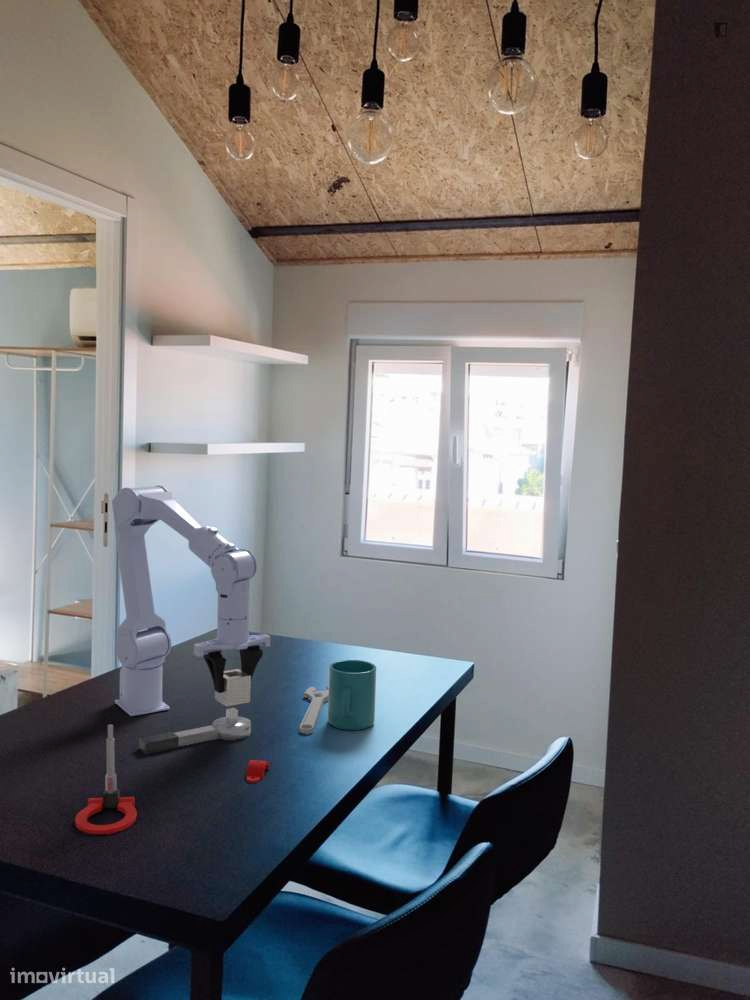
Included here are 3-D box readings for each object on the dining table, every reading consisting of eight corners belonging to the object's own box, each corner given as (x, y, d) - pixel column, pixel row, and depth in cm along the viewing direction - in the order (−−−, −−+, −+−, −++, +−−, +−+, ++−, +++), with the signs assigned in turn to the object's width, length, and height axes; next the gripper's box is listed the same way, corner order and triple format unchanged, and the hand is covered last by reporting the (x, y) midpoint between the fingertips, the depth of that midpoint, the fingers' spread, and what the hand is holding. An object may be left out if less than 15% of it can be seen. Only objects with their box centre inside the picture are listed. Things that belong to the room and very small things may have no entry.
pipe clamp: (256, 763, 144) (256, 751, 144) (272, 765, 144) (272, 752, 144) (242, 783, 136) (242, 770, 136) (259, 785, 136) (260, 772, 136)
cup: (320, 735, 157) (321, 676, 156) (332, 713, 169) (334, 658, 168) (368, 739, 156) (370, 679, 155) (377, 716, 168) (379, 661, 167)
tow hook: (132, 837, 119) (141, 803, 128) (131, 749, 117) (140, 722, 126) (69, 839, 118) (83, 805, 127) (67, 751, 116) (81, 723, 125)
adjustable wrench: (312, 737, 157) (312, 728, 157) (278, 735, 158) (279, 725, 158) (338, 694, 182) (338, 686, 182) (309, 691, 183) (309, 683, 183)
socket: (214, 698, 157) (215, 672, 156) (237, 694, 160) (238, 668, 159) (226, 706, 153) (227, 679, 152) (250, 702, 156) (250, 675, 155)
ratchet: (135, 745, 150) (135, 720, 149) (240, 723, 162) (240, 700, 161) (149, 758, 144) (149, 733, 144) (257, 735, 156) (257, 712, 156)
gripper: (205, 625, 147) (204, 701, 149) (279, 616, 156) (277, 688, 157) (189, 617, 153) (188, 690, 154) (260, 608, 162) (259, 678, 163)
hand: (232, 689), depth 156 cm, fingers closed on socket, 5 cm apart
